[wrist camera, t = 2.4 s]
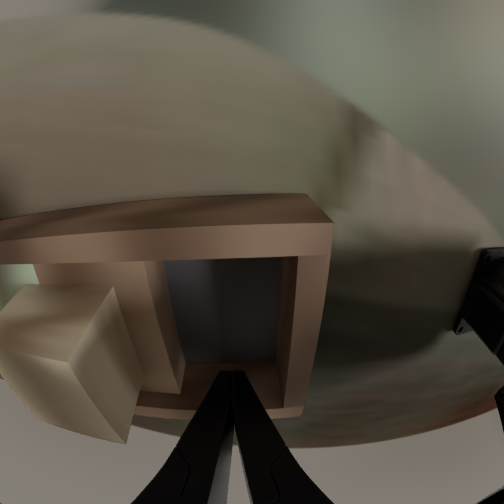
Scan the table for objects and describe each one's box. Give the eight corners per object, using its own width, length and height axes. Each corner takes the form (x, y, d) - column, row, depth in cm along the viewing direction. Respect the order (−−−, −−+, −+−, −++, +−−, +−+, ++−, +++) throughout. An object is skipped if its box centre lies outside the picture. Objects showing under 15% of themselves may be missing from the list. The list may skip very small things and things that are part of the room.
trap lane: (306, 193, 11) (334, 222, 8) (291, 367, 15) (301, 415, 12) (-45, 230, 10) (-75, 251, 7) (1, 343, 14) (-18, 370, 11)
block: (113, 286, 9) (67, 362, 6) (144, 374, 11) (126, 444, 8) (26, 284, 9) (-23, 338, 6) (64, 362, 11) (36, 418, 8)
